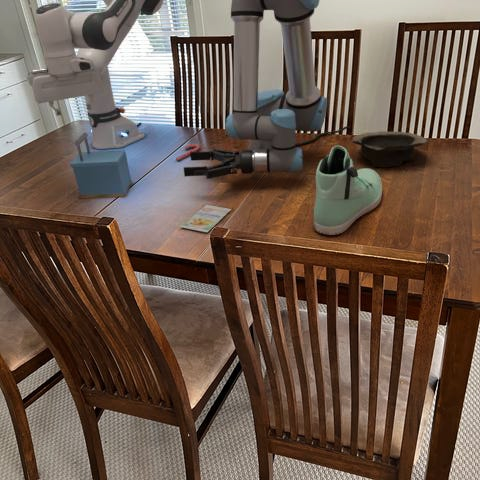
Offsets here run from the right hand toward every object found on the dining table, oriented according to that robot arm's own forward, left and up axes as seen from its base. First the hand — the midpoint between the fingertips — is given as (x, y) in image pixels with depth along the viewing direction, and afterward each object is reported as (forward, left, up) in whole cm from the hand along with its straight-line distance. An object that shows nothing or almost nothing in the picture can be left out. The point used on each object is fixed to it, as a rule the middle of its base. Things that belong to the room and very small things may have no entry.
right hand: (187, 163), depth 154 cm
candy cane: (-7, -30, -9) cm, 32 cm away
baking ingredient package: (+2, +23, -9) cm, 25 cm away
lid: (+26, -13, +2) cm, 29 cm away
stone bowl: (-68, +12, -9) cm, 70 cm away
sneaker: (-37, +37, -9) cm, 53 cm away
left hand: (+30, -15, +18) cm, 38 cm away
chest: (+26, -12, -9) cm, 30 cm away
